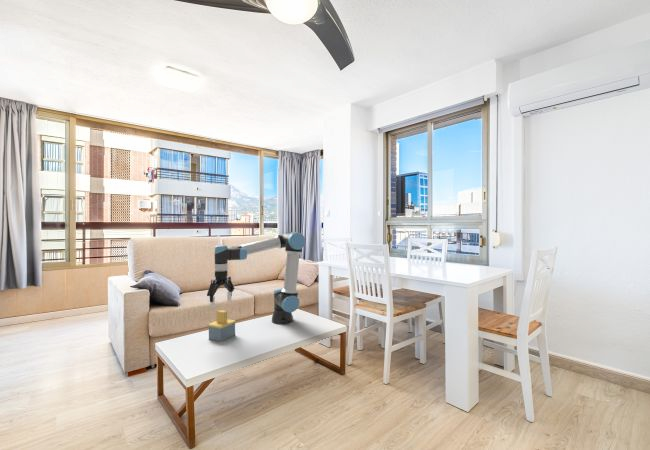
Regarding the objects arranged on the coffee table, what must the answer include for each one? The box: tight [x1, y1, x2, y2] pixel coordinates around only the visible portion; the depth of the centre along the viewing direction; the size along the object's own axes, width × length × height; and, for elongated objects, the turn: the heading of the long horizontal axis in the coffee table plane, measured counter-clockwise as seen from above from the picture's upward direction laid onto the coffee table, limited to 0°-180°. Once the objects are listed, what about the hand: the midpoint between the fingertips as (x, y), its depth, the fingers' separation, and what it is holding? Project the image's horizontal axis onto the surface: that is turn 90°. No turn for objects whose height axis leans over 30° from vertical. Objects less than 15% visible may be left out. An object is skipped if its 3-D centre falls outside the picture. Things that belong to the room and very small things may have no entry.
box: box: [208, 323, 236, 343], centre depth 192 cm, size 12×10×8 cm
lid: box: [207, 309, 237, 329], centre depth 192 cm, size 13×11×9 cm
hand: (221, 304), depth 191 cm, fingers open, 13 cm apart
